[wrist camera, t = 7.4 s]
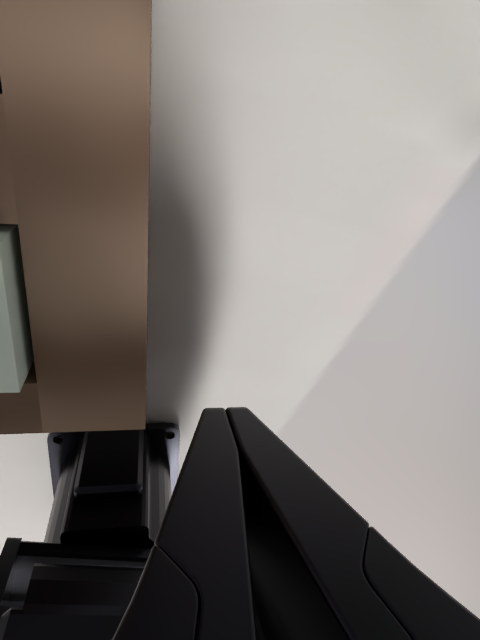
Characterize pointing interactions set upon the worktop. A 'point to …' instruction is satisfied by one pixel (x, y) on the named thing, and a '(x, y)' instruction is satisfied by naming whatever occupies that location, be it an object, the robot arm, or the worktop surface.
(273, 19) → the worktop surface
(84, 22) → the key console
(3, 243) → the sage key
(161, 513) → the robot arm
